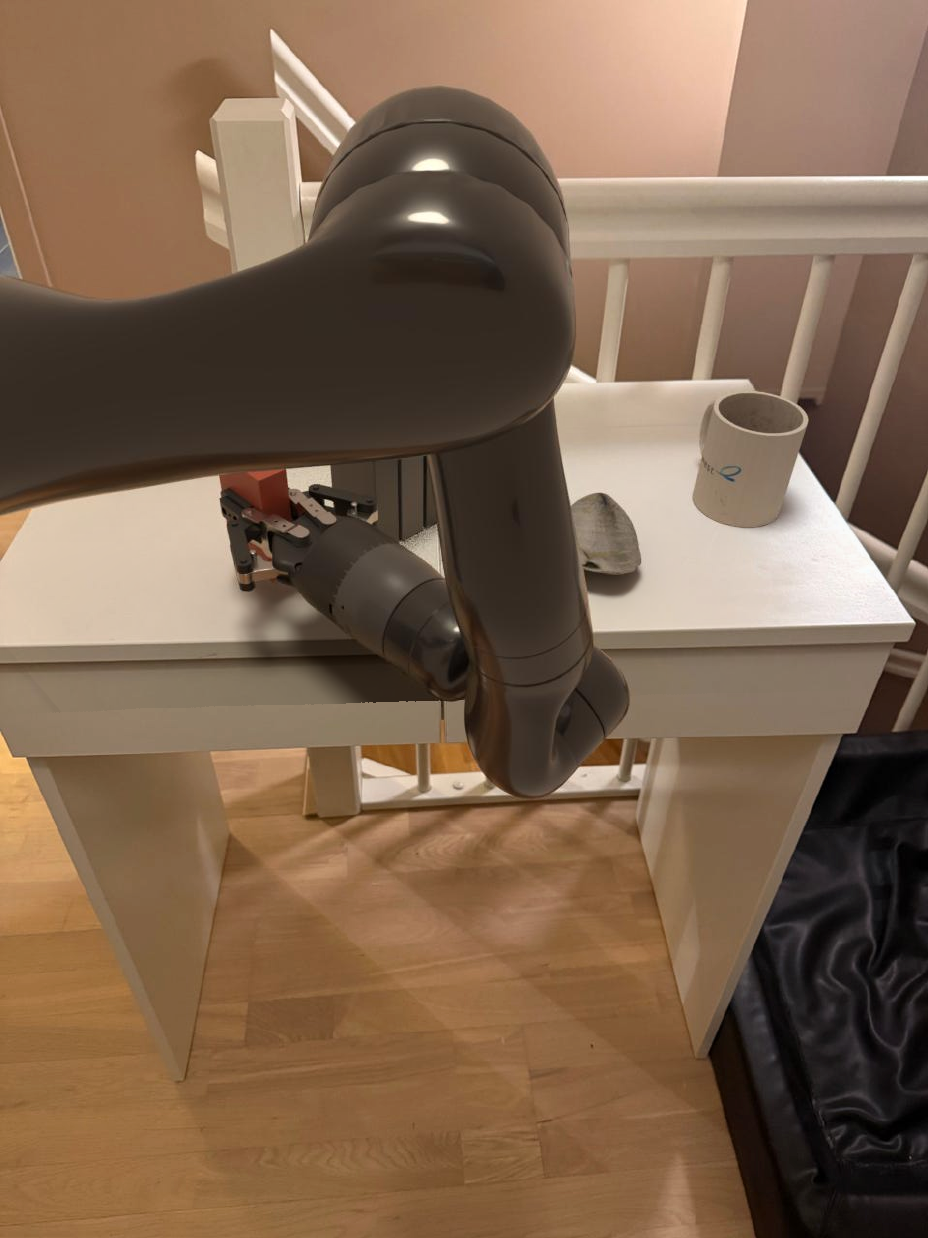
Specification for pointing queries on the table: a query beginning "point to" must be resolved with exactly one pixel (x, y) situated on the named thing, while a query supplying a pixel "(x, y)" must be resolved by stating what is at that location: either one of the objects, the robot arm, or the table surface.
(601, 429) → the table surface
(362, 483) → the grey books
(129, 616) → the table surface
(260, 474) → the red book
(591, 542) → the seashell
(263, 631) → the table surface
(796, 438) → the mug
